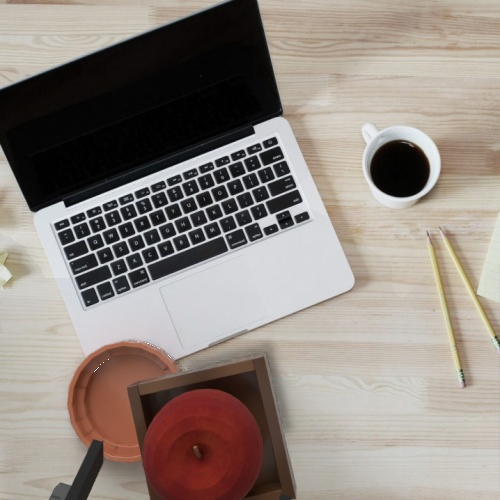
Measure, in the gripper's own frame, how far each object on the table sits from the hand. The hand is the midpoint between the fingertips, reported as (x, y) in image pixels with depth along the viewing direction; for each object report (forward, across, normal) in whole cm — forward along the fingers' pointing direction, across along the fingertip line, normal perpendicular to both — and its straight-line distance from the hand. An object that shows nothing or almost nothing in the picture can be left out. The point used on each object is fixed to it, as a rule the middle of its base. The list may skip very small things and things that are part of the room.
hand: (189, 476), depth 50 cm
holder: (+10, 0, -9) cm, 13 cm away
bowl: (+24, -13, -28) cm, 39 cm away
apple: (+9, 0, -8) cm, 12 cm away
